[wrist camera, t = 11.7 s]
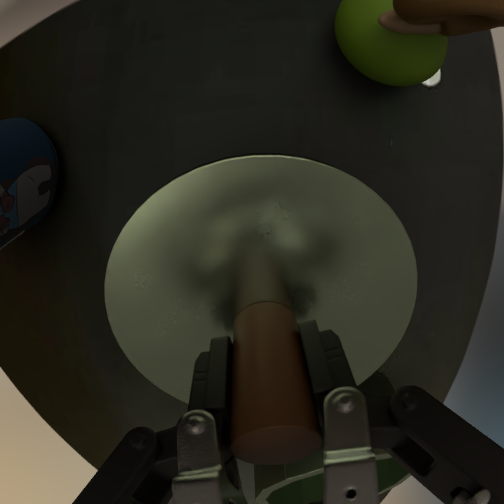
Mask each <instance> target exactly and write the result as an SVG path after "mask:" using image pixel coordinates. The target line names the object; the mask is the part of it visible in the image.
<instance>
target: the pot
mask: <svg viewBox="0 0 504 504" xmlns="http://www.w3.org/2000/svg"><path fill="white" fill-rule="evenodd" d="M358 388H359V389H360V390H361V391H363V392H364V393H366V394H368V395H372V396H392V395H393V394H394V393H395V390H394V388H393V387H392V384H391V382H390V381H389V380H388V378H387V377H385V376H384V375H383V374H381V373H379V372H377V371H375V372H374V373H373V374H372V375H371V376H370V377H368V378H367V379H366V380H365V381H363V382H362V383H361V384H360V385H358ZM320 428H321V433H322V437H323V442H322V445H321V447H320V448H319V449H318V450H317V451H316V452H315V453H313V454H312V455H310V456H308V457H306V458H304V459H301V460H299V461H295V462H292V463H287V464H280V465H258V464H254V477H255V500H256V501H257V502H258V503H259V504H309V503H312V502H318V501H323V490H324V427H323V426H320ZM372 450H373V451H374V453H375V458H376V468H377V480H378V494H379V495H380V494H382V493H384V492H386V491H388V490H389V489H391V488H393V487H395V486H397V485H399V484H400V483H402V482H403V481H404V480H406V479H407V478H408V477H410V476H411V474H410V473H409V472H408V471H407V470H406V469H404V468H403V467H402V466H401V465H400V464H399V463H398V462H397V461H396V460H395V459H394V458H392V457H391V456H390V455H389V454H388V453H387V452H386V451H385V450H384V449H372Z"/></svg>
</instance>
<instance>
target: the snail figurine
mask: <svg viewBox="0 0 504 504" xmlns="http://www.w3.org/2000/svg"><path fill="white" fill-rule="evenodd" d="M496 27H504V0H343V1H342V2H341V4H340V5H339V7H338V10H337V13H336V16H335V34H336V39H337V42H338V44H339V47H340V49H341V51H342V53H343V54H344V56H345V57H346V59H347V60H348V61H349V62H350V63H351V64H352V65H353V66H354V67H355V68H356V69H357V70H358V71H359V72H361V73H362V74H363V75H365V76H367V77H368V78H370V79H372V80H374V81H377V82H379V83H382V84H386V85H390V86H412V85H416V84H419V83H422V82H424V81H426V80H428V79H429V78H431V77H432V76H433V75H434V74H435V73H436V72H437V71H438V70H439V69H440V67H441V66H442V64H443V62H444V60H445V57H446V53H447V36H455V35H461V34H468V33H473V32H478V31H483V30H488V29H492V28H496Z"/></svg>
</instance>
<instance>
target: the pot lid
mask: <svg viewBox="0 0 504 504" xmlns="http://www.w3.org/2000/svg"><path fill="white" fill-rule="evenodd" d="M417 276H418V275H417V266H416V259H415V254H414V251H413V248H412V244H411V241H410V238H409V236H408V234H407V232H406V230H405V228H404V226H403V224H402V222H401V221H400V219H399V218H398V217H397V215H396V214H395V212H394V211H393V210H392V208H391V207H390V206H389V205H388V204H387V203H386V202H385V201H384V200H383V199H382V198H381V197H380V196H379V195H378V194H377V193H376V192H375V191H374V190H373V189H371V188H370V187H369V186H367V185H366V184H364V183H363V182H361V181H360V180H359V179H357V178H356V177H354V176H353V175H351V174H349V173H347V172H345V171H343V170H341V169H338V168H336V167H334V166H332V165H330V164H327V163H324V162H320V161H317V160H314V159H311V158H307V157H302V156H295V155H289V154H281V153H251V154H244V155H238V156H231V157H225V158H222V159H219V160H215V161H212V162H209V163H206V164H202V165H199V166H197V167H195V168H193V169H191V170H189V171H187V172H185V173H183V174H181V175H179V176H177V177H175V178H174V179H172V180H171V181H169V182H168V183H166V184H165V185H163V186H162V187H160V188H159V189H158V190H156V191H155V192H154V193H153V194H152V195H151V196H150V197H149V198H148V199H147V200H146V201H144V202H143V203H142V204H141V205H140V206H139V207H138V208H137V209H136V210H135V212H134V213H133V214H132V216H131V217H130V218H129V220H128V221H127V222H126V224H125V225H124V226H123V228H122V230H121V232H120V233H119V235H118V237H117V239H116V241H115V243H114V245H113V248H112V251H111V254H110V257H109V260H108V263H107V269H106V275H105V305H106V310H107V316H108V319H109V322H110V325H111V328H112V331H113V334H114V336H115V338H116V340H117V342H118V344H119V346H120V347H121V349H122V350H123V352H124V353H125V355H126V356H127V358H128V359H129V360H130V362H131V363H132V364H133V365H134V366H135V367H136V368H137V370H138V371H139V372H140V373H141V374H142V375H144V376H145V377H146V378H147V379H148V380H149V381H150V382H152V383H153V384H154V385H156V386H157V387H158V388H160V389H161V390H163V391H164V392H166V393H168V394H169V395H171V396H173V397H175V398H177V399H178V400H181V401H183V402H185V403H187V404H189V397H190V391H191V384H192V377H193V374H194V372H193V371H194V364H195V361H196V359H197V358H198V356H199V355H200V353H201V352H206V351H209V350H210V341H211V338H217V337H223V336H230V338H231V341H232V343H233V351H232V385H231V426H230V450H231V452H232V454H233V455H234V456H235V457H236V458H238V459H240V460H242V461H245V462H248V463H252V464H258V465H280V464H287V463H292V462H295V461H299V460H301V459H304V458H306V457H308V456H310V455H312V454H313V453H315V452H316V451H317V450H318V449H319V448H320V447H321V445H322V442H323V437H322V433H321V428H320V423H319V418H318V413H317V409H316V407H315V402H314V398H313V393H312V388H311V384H310V379H309V375H308V370H307V366H306V361H305V357H304V352H303V348H302V343H301V339H300V335H299V329H298V323H301V322H306V321H311V320H316V323H317V326H318V329H319V332H320V331H324V330H329V329H331V330H332V331H333V332H334V333H336V334H337V335H338V336H339V338H340V341H341V344H342V347H343V349H344V352H345V355H346V357H347V360H348V363H349V366H350V368H351V371H352V374H353V377H354V380H355V382H356V385H357V386H358V385H360V384H361V383H362V382H363V381H365V380H366V379H367V378H368V377H370V376H371V375H372V374H373V373H374V372H375V371H376V370H377V369H378V368H379V367H380V366H381V365H382V364H383V363H384V362H385V361H386V360H387V359H388V357H389V356H390V355H391V354H392V352H393V351H394V350H395V348H396V347H397V345H398V343H399V342H400V340H401V339H402V337H403V335H404V333H405V331H406V329H407V327H408V325H409V322H410V319H411V316H412V313H413V310H414V306H415V301H416V295H417Z"/></svg>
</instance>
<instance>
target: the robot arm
mask: <svg viewBox="0 0 504 504" xmlns="http://www.w3.org/2000/svg"><path fill="white" fill-rule="evenodd" d="M298 329H299V335H300V339H301V343H302V348H303V352H304V357H305V361H306V366H307V370H308V375H309V379H310V384H311V388H312V393H313V398H314V402H315V407H316V409H317V413H318V418H319V423H320V426H323V427H324V490H323V501H318V502H312V503H309V504H379V494H378V480H377V468H376V458H375V453H374V451H373V450H372V449H384V450H385V451H386V452H387V453H388V454H389V455H390V456H391V457H392V458H394V459H395V460H396V461H397V462H398V463H399V464H400V465H401V466H402V467H403V468H404V469H406V470H407V471H408V472H409V473H410V474H411V475H412V476H413V477H414V478H416V479H417V480H418V481H419V482H420V483H421V484H422V485H423V486H425V487H426V488H427V489H428V490H429V491H430V492H432V493H433V494H434V495H435V496H436V497H437V498H438V499H440V500H441V501H442V502H443V503H444V504H504V449H503V448H502V447H501V446H499V445H498V444H496V443H495V442H494V441H492V440H491V439H490V438H488V437H487V436H485V435H484V434H483V433H481V432H480V431H479V430H477V429H476V428H475V427H473V426H472V425H471V424H469V423H468V422H466V421H465V420H464V419H462V418H461V417H460V416H458V415H457V414H456V413H454V412H453V411H451V410H450V409H449V408H447V407H446V406H445V405H444V404H442V403H441V402H439V401H438V400H437V399H435V398H434V397H433V396H431V395H430V394H429V393H427V392H426V391H425V390H423V389H422V388H420V387H417V386H405V387H402V388H400V389H398V390H397V391H396V392H395V393H394V394H393V395H392V396H372V395H368V394H366V393H364V392H363V391H361V390H360V389H359V388H358V386H357V385H356V382H355V380H354V377H353V374H352V371H351V368H350V366H349V363H348V360H347V357H346V355H345V352H344V349H343V347H342V344H341V341H340V338H339V336H338V335H337V334H336V333H334V332H333V331H332V330H331V329H329V330H324V331H320V332H319V329H318V326H317V323H316V320H311V321H306V322H301V323H298ZM232 351H233V343H232V341H231V338H230V336H223V337H217V338H211V341H210V350H209V351H206V352H201V353H200V355H199V356H198V358H197V359H196V361H195V364H194V371H193V372H194V374H193V377H192V384H191V391H190V397H189V404H188V411H187V413H186V414H184V415H183V416H182V417H181V418H180V419H179V421H178V423H177V425H176V426H174V427H172V428H169V429H166V430H163V431H160V432H156V433H155V432H154V431H153V430H152V429H150V428H148V427H137V428H134V429H132V430H131V431H129V432H128V433H127V434H126V435H125V437H124V438H123V439H122V441H121V442H120V443H119V444H118V446H117V447H116V448H115V450H114V451H113V452H112V453H111V455H110V456H109V457H108V459H107V460H106V461H105V462H104V464H103V465H102V466H101V468H100V469H99V470H98V471H97V473H96V474H95V475H94V477H93V478H92V479H91V480H90V482H89V483H88V484H87V485H86V487H85V488H84V489H83V491H82V492H81V493H80V494H79V496H78V497H77V498H76V499H75V501H74V502H73V503H72V504H168V502H169V501H170V499H171V498H172V496H173V504H247V501H246V499H245V497H244V494H243V491H242V486H241V481H240V476H239V471H238V466H237V461H236V457H235V456H234V455H233V454H232V452H231V450H230V426H231V385H232Z"/></svg>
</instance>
